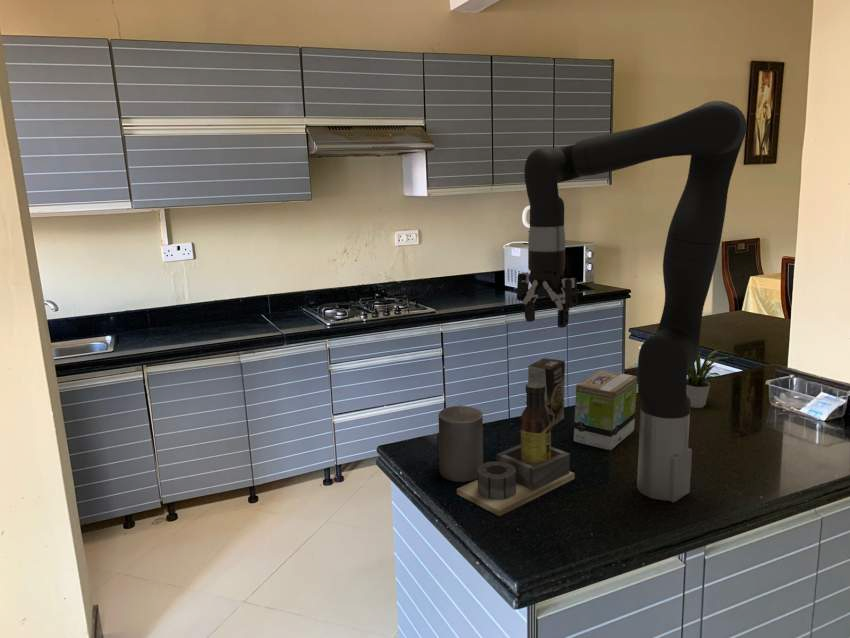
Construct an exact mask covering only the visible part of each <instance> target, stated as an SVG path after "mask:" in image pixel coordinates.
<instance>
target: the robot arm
mask: <svg viewBox="0 0 850 638" xmlns="http://www.w3.org/2000/svg"><path fill="white" fill-rule="evenodd" d="M746 134H747V120H746V116H745V115H744V113H743V112H742V110H741V109H740V108H739V107H737V106H736V105H734V104H732V103H729V102H728V101H723V100H712V101H708V102H705V103H703V104H701V105H699V106H697V107H694V108H691V109H690V110H687V111H685V112H683V113H680V114H678V115H675V116H673V117H670V118H668V119H664V120H662V121H659V122H655V123H652V124H648V125H644V126H640V127H639V126H638V127H635V128H630V129H625V130H621V131H615V132H610V133H607V134H601V135H598V136H593V137H589V138H585V139H581V140H579V141H577V142H576V143H575V144H570V145H566V146H562V147H556V148H547V147H544V148H543V147H542V148H541V147H540V148H536V149H535V150H533V151H532V152H530V154H529V155H528V156H527V158H526V160H525V164H524V173H523V174H524V175H523V176H524V183H525V189H526V193H527V197H528V203H529V228H528V229H529V230H528V237H527V239H528V243H527V244H528V245H527V247H528V248H527V250H528V251H527V254H528V256H527V257H528V258H527V260H528V261H527V262H528V263H527V264H528V265H527V267H528V268H527V269H528V271H530V272H528V271H527V272H522V273H521V272H520V273H518V274H517V284H516V300H517V301H521V302H522V303H523V304H524V318H525V321H526V322H529V323H531V322H533V321H535V320H536V303H535V301H536V300H537V298H538V297H541V296H543V297H545V298H550V299H551V301H552V302H553V303H555V305H556V307H557V309H558V310H557V328H561V329H562V328H565V327H567V326H568V324H569V317H570V315H569V313H570V309H571V308H572V309H573V308H576V307H577V306H578V281H577V280H578V279H577V277H571V278H565V277H564V271H565V268H566V232H565V203H564V200H563V198H562V197H560V196H559V187H558V186H559V185H558V184H559V183H564V182H567V181H571V180H574V179H578V178H581V177H589V176H595V175H600V174H604V173H609V172H614V171H619V170H623V169H627V168H629V167H633V166H637V165H639V164H642V163H645V162H650V161H653V160H658V159H663V158H670V157H681V156H682V157H683V156H690V160H689V161H690V162H689V168H688V174H687V179H686V183H685V186H684V189H683V191H682V194H681V196H680V199H678V200H679V201H678V203H677V205H676V207H675V210H674V213H673V216H672V218H671V221H670V225H669V227H668V230H667V231H668V232H667V236H666V241H665V247H664V251H663V252H664V253H663V260H662V274H663V284H664V285H663V286H664V287H663V288H664V304H663V309H662V314H661V316H660V317H661V318H660V321H659V324H658V327H657V330H656V333H654V334H653V335H651V336H650V337H648V338H647V339H645V341H644V342H642V344H641V346H640V349H639V352H638V360H637V393H638V398H639V400H640V413H639V414H640V415H639V433H638V434H639V435H638V452H637V453H638V455H637V476H636V479H637V480H636V488H637V490H638V492H639V493H641V494H642V495H644V496H646V497H647V498H650V499H654V500H658V501H659V500H660V501H667V502H668V501H669V502H670V503H675V502H677V501H679V500H680V499H682V498H683V497H685V496H686V495H688V494H690V487H691V475H692V474H691V473H692V457H693V449H692V448H690V447H689V436H690V435H689V434H690V433H689V431H690V421H691V417H690V416H691V408H692V407H691V401H690V399H689V397H688V396H687V394H686V388H687V379H688V375H687V371H688V370H689V369H690V368H691V367H692V366H693V365H694V364H695V363H696V359H697V356H698V352H699V349H700V339H701V337H700V336H701V328H702V319H703V313H704V307H705V303H706V301H707V296H708V293H709V290H710V286H711V284H712V279H713V275H714V271H715V267H716V263H717V259H718V255H719V250H720V245H721V242H722V241H721V240H722V235H723V231H724V229H723V228H724V223H725V216H726V210H727V202H728V194H729V187H730V184H731V183H730V182H731V179H732V176H733V172H734V170H735V166H736V163H737V158H738V156H739V153H740V151H741V148H742V144H743V142H744V139H745V137H746Z"/></svg>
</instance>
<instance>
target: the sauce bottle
mask: <svg viewBox="0 0 850 638" xmlns="http://www.w3.org/2000/svg"><path fill="white" fill-rule="evenodd" d="M545 391H546V390H545V385H544V384H542V383H528V382H527V384H525V393H526V402H525V403H526V407H524V408H525V409H524V410H523V412H522V413H521V415H520V444H521V461H522V462H524V463H526V464H529V465H531V466H535V465H538V464H540V463H542V462H544V461H546V460H549V459H551V447H552V433H551V431H552V427H551V420H550V418H549V415H548V412H547V409H546V407H545Z"/></svg>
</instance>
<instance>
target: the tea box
mask: <svg viewBox="0 0 850 638" xmlns="http://www.w3.org/2000/svg"><path fill="white" fill-rule="evenodd" d="M575 388H576V389H575V404H574V405H575V409H574V428H573V442H575V443H578V444H583V445H586V446H590V447H594V448H599V449H603V450H607V451H612V450H613V449H614V448H615V447H616V446H617V445H618V444H620V443H621V442H622V441H623V440H625V439H626V438H627V437H628V436H629V435H631V434H632V433H633V432H634V430H635V424H636V423H635V422H636V421H635V417H636V405H637V404H636V402H637V391H638V375H637V376H636V375H631V374H627V373H625V374H624V373H620V372H616V371H609V370H601V369H600V370H598V371H597V372H595V373H593V374H592V375H590V376H588V377H587V378H586V379H584V380H582V381H580V382H578V383H577V384H576V387H575Z"/></svg>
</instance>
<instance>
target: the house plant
mask: <svg viewBox="0 0 850 638" xmlns="http://www.w3.org/2000/svg"><path fill="white" fill-rule="evenodd" d="M719 351H720V349H716V350H713V351H711V352H710V353H708V355H707V356H706V357H705V358H704V361H703V363H702V365H701V361H702V360H701V354H700V352H699V351H698V356H697V359H696V362H695V363H696V364H695V363H694V365H693V366H692V367H691V368H690V369H689V370H688V371H687V388H686V394H687V396H688V397H689V399H690V401H691V407H690V408H693V409H694V408H695V409H702V408H704V406H705V407H706V404H707V400H708V395H709V391H710V387H711V383H710V382H709V381H706V379H716V380H719V379H718V378H717V377H715V376H713V375H717V376H719V377H721V375H720V373H718V372H711V373H709V372H710V371H711V370H712V369H713V368H714V367H716V366H717V364H716V365H713V364H714V363H715V362H717V361H719V360H721V359H722V360H723V359H729V357H728V356H726V357H725V356H724V357H722V356H721V357H720V356H717V357H715V358H711V357H713V356H714V354H715V353H716V352H719ZM710 358H711V359H710ZM711 375H712V376H711Z"/></svg>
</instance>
